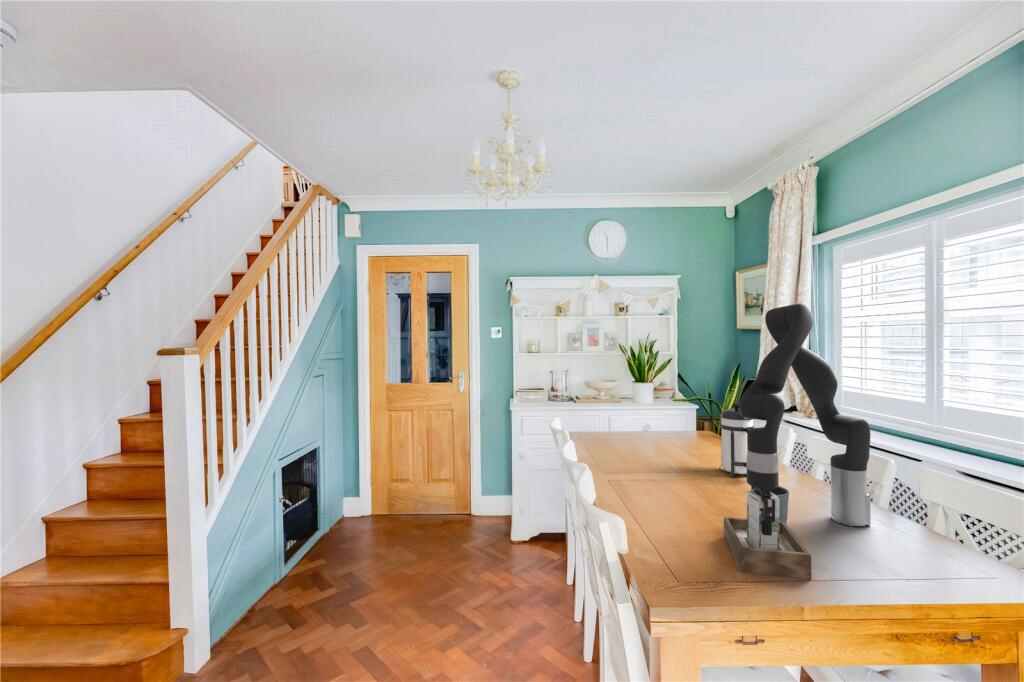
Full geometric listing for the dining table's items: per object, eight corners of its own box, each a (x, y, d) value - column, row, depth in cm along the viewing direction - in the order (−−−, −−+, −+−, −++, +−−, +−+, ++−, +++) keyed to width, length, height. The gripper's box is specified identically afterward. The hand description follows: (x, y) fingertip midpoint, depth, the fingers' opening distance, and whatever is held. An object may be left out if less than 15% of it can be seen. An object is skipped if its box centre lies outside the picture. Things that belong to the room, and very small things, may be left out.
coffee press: (711, 474, 191) (710, 404, 191) (727, 466, 202) (726, 399, 202) (755, 483, 178) (754, 408, 178) (769, 474, 189) (768, 403, 189)
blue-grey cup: (789, 524, 141) (788, 486, 140) (789, 537, 132) (789, 496, 132) (752, 518, 146) (752, 481, 146) (750, 530, 137) (750, 491, 137)
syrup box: (767, 541, 124) (766, 488, 124) (780, 551, 118) (779, 496, 118) (746, 541, 124) (746, 489, 124) (759, 552, 118) (758, 497, 118)
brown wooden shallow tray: (784, 542, 129) (784, 521, 129) (811, 579, 110) (811, 555, 109) (723, 537, 133) (723, 516, 133) (739, 571, 114) (739, 548, 114)
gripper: (786, 476, 113) (787, 542, 113) (769, 461, 127) (770, 519, 127) (753, 475, 115) (754, 539, 115) (740, 459, 129) (741, 517, 129)
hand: (762, 528), depth 121 cm, fingers closed on syrup box, 6 cm apart
